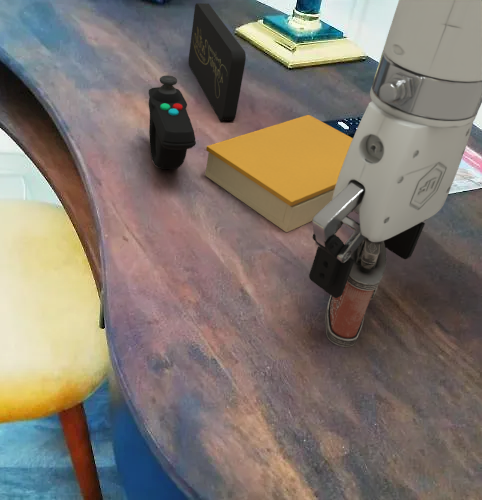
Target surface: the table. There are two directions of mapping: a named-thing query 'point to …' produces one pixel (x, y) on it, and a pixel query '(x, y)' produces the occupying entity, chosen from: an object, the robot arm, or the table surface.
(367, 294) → the lighter
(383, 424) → the table surface
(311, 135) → the cover
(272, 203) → the square lidded box
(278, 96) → the table surface
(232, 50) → the nameplate
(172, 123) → the controller
